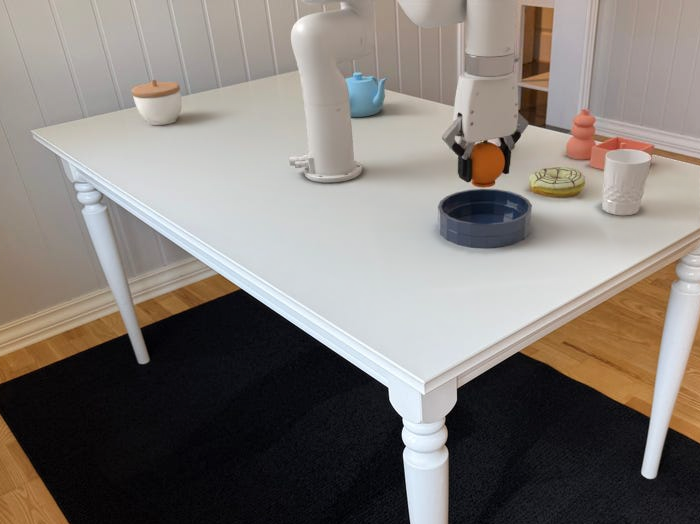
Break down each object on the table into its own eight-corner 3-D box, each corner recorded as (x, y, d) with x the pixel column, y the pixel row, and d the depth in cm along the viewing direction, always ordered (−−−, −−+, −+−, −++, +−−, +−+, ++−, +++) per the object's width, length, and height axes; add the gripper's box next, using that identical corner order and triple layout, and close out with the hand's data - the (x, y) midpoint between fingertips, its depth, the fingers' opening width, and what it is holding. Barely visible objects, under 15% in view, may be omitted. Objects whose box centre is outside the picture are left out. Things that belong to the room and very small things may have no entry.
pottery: (651, 164, 147) (659, 117, 141) (626, 175, 141) (634, 127, 136) (580, 147, 158) (585, 103, 152) (555, 157, 153) (559, 112, 147)
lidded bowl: (196, 118, 191) (187, 76, 184) (161, 130, 182) (150, 87, 176) (165, 113, 196) (155, 72, 190) (129, 124, 188) (118, 82, 181)
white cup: (635, 220, 123) (644, 166, 118) (592, 212, 127) (599, 159, 121) (647, 205, 129) (656, 152, 123) (606, 198, 132) (613, 146, 126)
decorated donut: (533, 179, 142) (534, 162, 140) (586, 184, 139) (588, 165, 137) (524, 198, 134) (525, 179, 131) (580, 203, 131) (582, 183, 128)
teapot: (383, 103, 196) (381, 65, 190) (390, 117, 184) (388, 77, 178) (332, 107, 194) (329, 69, 189) (336, 122, 182) (332, 81, 176)
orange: (467, 192, 114) (469, 148, 110) (460, 177, 120) (461, 135, 115) (507, 189, 115) (510, 145, 110) (498, 174, 120) (501, 132, 116)
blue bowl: (446, 254, 115) (446, 228, 112) (432, 216, 128) (432, 192, 125) (540, 247, 116) (542, 220, 113) (517, 210, 129) (518, 185, 126)
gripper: (521, 53, 112) (514, 160, 122) (428, 67, 106) (428, 178, 116) (549, 62, 106) (538, 173, 117) (452, 77, 100) (450, 192, 111)
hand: (483, 174), depth 116 cm, fingers closed on orange, 6 cm apart
